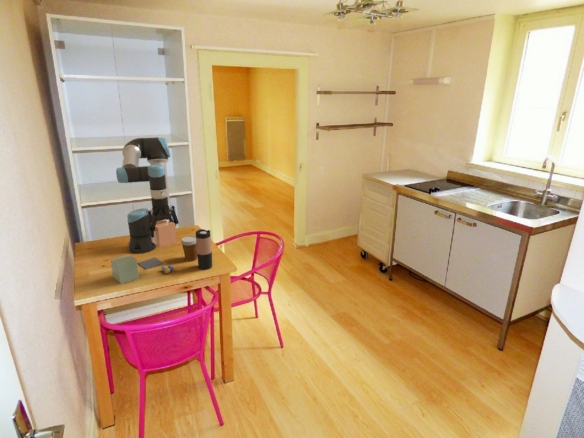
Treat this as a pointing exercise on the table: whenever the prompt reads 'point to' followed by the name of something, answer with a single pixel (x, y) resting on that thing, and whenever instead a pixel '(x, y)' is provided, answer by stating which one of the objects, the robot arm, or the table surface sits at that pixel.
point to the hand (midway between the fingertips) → (164, 240)
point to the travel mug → (204, 249)
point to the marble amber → (167, 270)
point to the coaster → (150, 263)
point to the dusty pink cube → (165, 233)
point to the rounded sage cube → (124, 268)
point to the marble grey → (163, 268)
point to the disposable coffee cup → (189, 248)
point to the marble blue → (171, 267)
